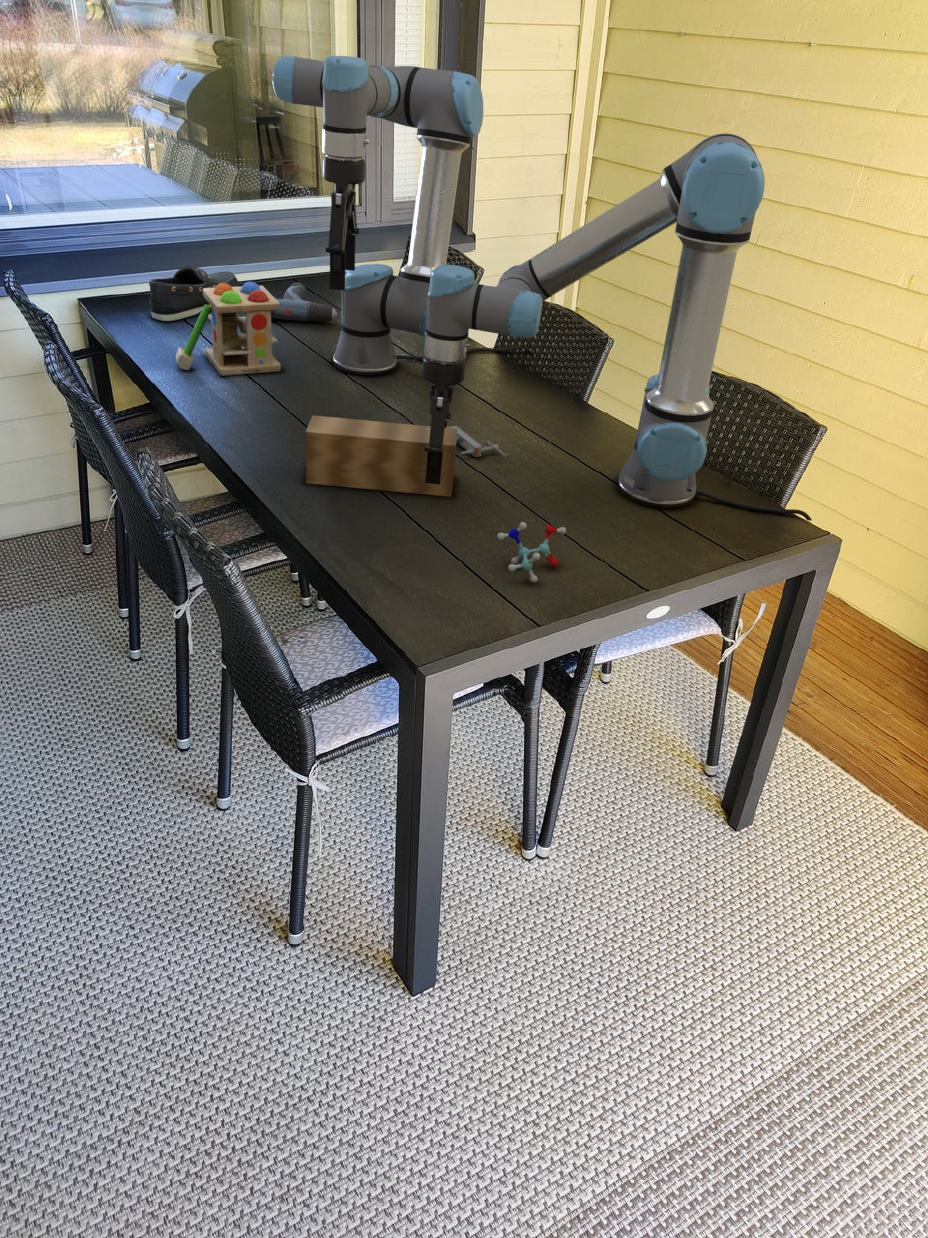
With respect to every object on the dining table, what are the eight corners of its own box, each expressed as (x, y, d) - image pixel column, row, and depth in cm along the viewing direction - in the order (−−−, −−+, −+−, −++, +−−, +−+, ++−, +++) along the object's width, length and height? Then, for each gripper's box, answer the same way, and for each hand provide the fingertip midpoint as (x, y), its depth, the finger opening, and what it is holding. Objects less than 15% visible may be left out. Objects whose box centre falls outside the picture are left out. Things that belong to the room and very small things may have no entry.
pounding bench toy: (183, 379, 220) (176, 299, 210) (169, 357, 231) (162, 280, 221) (282, 371, 230) (280, 294, 220) (264, 350, 240) (262, 276, 230)
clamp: (430, 428, 204) (472, 422, 209) (430, 438, 205) (471, 431, 210) (466, 458, 194) (509, 450, 198) (465, 468, 195) (508, 460, 199)
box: (306, 483, 184) (305, 431, 178) (313, 465, 190) (312, 415, 185) (451, 496, 185) (455, 445, 179) (453, 478, 191) (457, 428, 185)
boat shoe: (257, 300, 274) (255, 261, 268) (168, 323, 250) (164, 281, 244) (224, 291, 279) (221, 254, 274) (133, 313, 256) (128, 272, 250)
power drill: (344, 304, 276) (335, 327, 259) (277, 298, 275) (264, 321, 258) (344, 285, 273) (335, 306, 256) (277, 279, 272) (264, 300, 255)
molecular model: (561, 577, 156) (542, 517, 155) (507, 592, 160) (488, 534, 159) (577, 563, 167) (559, 507, 166) (526, 578, 171) (508, 523, 169)
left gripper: (356, 171, 163) (353, 299, 175) (373, 147, 184) (370, 263, 196) (311, 167, 163) (311, 295, 175) (333, 143, 184) (332, 260, 196)
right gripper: (463, 385, 163) (451, 499, 175) (468, 337, 184) (457, 441, 196) (418, 380, 163) (409, 494, 175) (428, 332, 184) (420, 437, 196)
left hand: (342, 279), depth 185 cm, fingers open, 13 cm apart
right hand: (435, 466), depth 185 cm, fingers open, 13 cm apart
